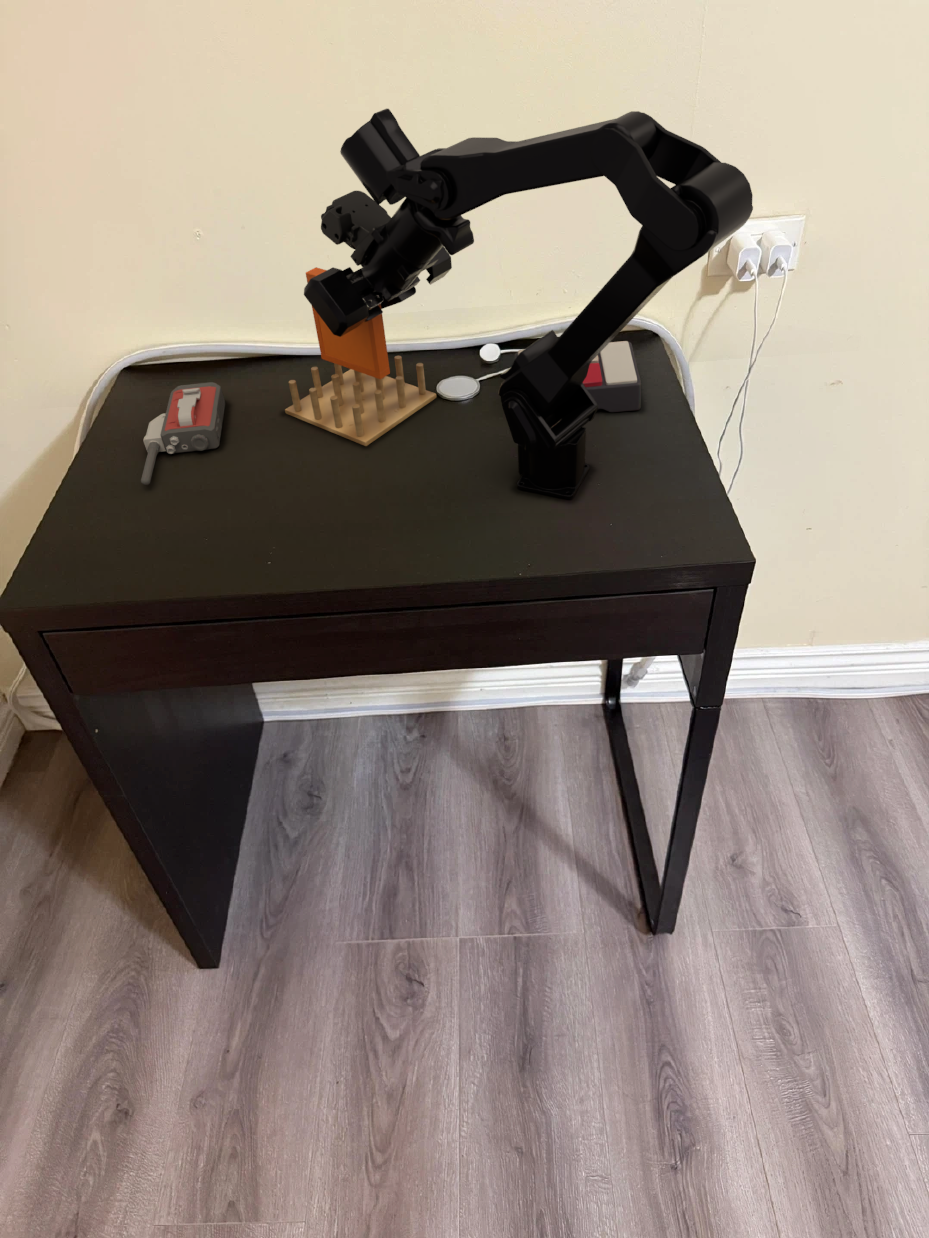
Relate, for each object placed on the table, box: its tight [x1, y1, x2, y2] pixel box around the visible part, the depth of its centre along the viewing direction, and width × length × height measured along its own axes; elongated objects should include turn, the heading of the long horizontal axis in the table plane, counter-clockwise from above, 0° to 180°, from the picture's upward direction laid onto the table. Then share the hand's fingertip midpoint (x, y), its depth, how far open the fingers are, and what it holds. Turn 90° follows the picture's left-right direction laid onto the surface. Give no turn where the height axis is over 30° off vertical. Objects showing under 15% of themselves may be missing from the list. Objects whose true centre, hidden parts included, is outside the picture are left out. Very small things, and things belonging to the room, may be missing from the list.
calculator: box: [514, 340, 642, 413], centre depth 113 cm, size 11×4×15 cm
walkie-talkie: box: [140, 381, 226, 486], centre depth 110 cm, size 9×4×20 cm
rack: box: [284, 355, 437, 447], centre depth 113 cm, size 14×13×5 cm
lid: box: [305, 267, 391, 379], centre depth 107 cm, size 10×2×11 cm, turn 52°
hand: (351, 316), depth 106 cm, fingers closed on lid, 2 cm apart
